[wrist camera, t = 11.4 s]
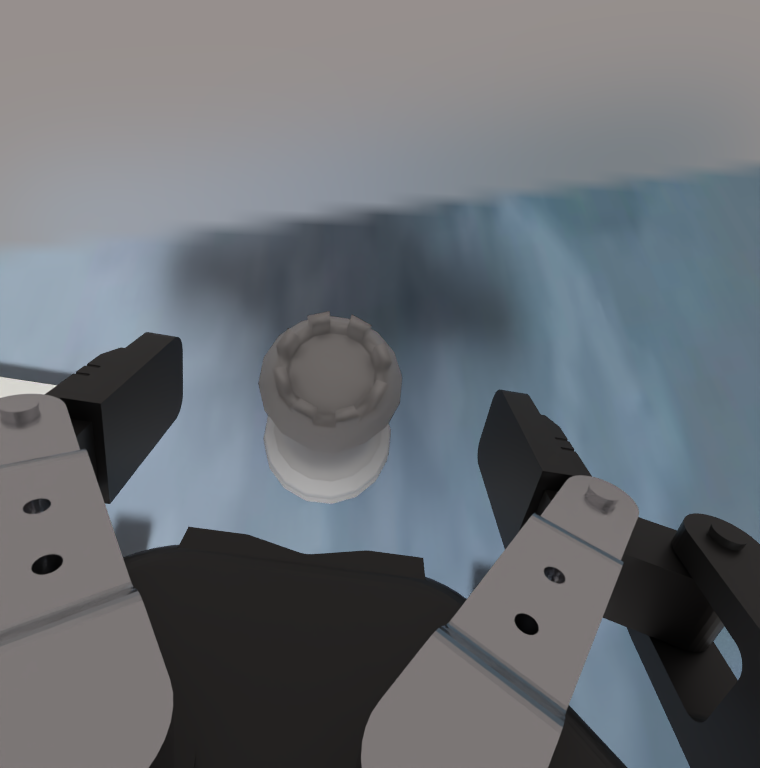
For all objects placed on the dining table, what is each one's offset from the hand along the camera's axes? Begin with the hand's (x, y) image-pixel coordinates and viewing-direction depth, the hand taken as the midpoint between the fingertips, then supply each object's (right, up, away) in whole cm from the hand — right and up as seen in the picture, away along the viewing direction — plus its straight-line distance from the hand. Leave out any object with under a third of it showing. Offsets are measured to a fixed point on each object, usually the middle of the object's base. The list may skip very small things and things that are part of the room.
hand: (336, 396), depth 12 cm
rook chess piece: (-1, -2, +5) cm, 6 cm away
